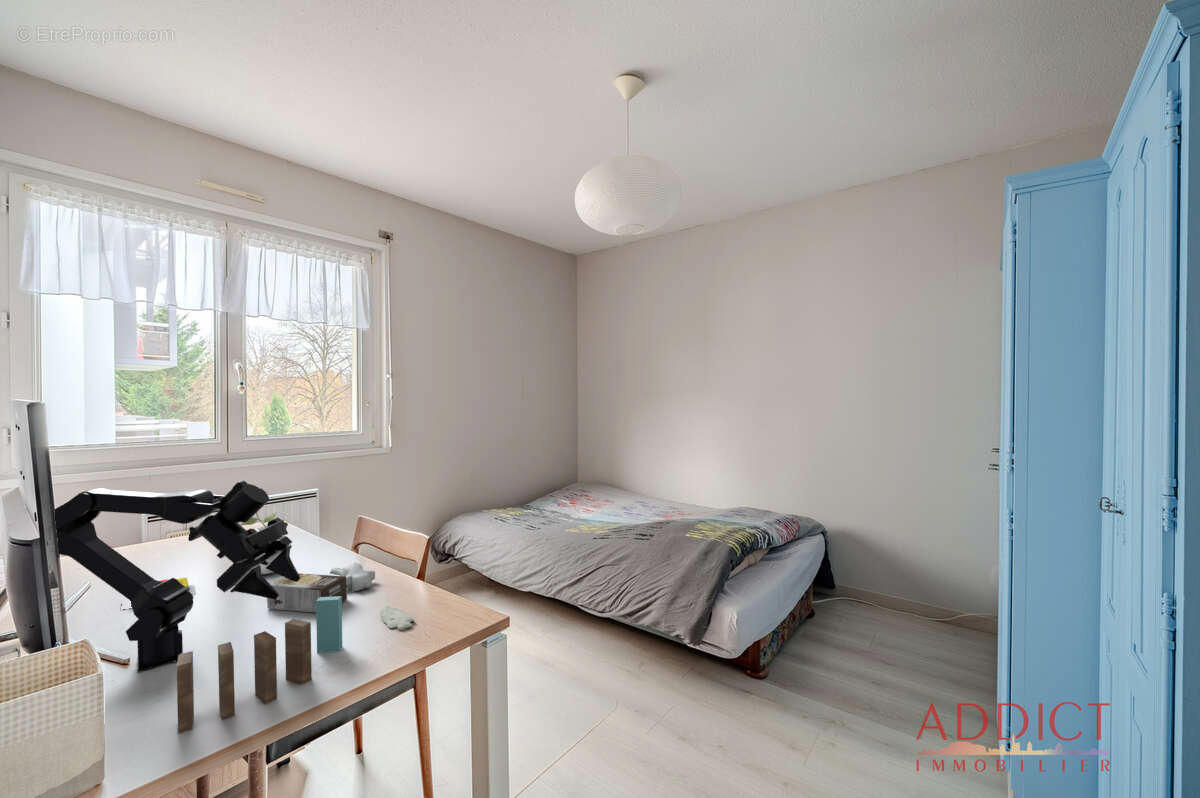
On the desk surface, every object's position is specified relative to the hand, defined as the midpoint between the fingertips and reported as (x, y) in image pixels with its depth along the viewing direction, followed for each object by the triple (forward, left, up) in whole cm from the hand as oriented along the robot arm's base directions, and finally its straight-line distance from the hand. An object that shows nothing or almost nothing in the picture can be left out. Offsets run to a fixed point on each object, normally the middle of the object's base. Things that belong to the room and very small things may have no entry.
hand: (288, 588), depth 106 cm
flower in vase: (+5, +59, -14) cm, 61 cm away
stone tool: (+22, +1, -14) cm, 26 cm away
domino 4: (-1, -13, -13) cm, 19 cm away
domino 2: (-12, -15, -13) cm, 24 cm away
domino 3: (-6, -15, -13) cm, 21 cm away
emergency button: (-20, +57, -14) cm, 62 cm away
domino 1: (-18, -15, -13) cm, 27 cm away
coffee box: (+4, +31, -10) cm, 32 cm away
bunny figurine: (+21, +31, -14) cm, 40 cm away
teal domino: (+7, -5, -13) cm, 16 cm away
